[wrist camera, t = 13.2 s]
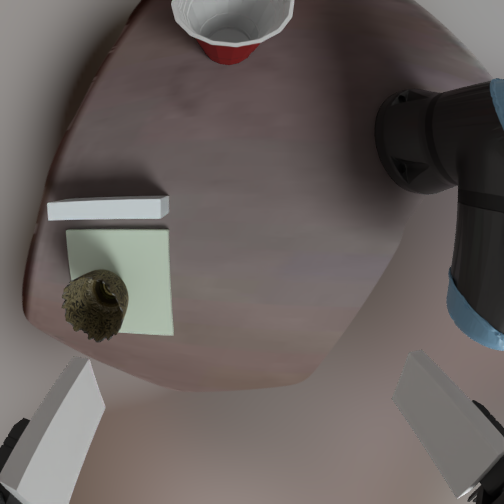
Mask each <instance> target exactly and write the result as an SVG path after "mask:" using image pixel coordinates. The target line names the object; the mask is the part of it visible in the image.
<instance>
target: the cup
mask: <svg viewBox="0 0 504 504" xmlns="http://www.w3.org/2000/svg"><path fill="white" fill-rule="evenodd" d="M69 283H70V284H69V285H67V286H66V287H65V288H64V294H63V295H62V298H63V299H64V300H65V301H64V303H63V305H62V308H64V309H66V313H65V317H66V321H67V322H68V323H69V324H71V325H72V326H73V329H74V331H76V332H78V331H79V330H83V332H84V333H87V334H88V339H89V340H91V339H93V338H94V340H95V342H101V341H103V340H104V339H105V338H107V340H110V339H111V338H112V336H113V334H115V335H117V333H118V331H119V330H120V329H121V326H122V323H123V320H124V317H125V314H126V311H127V307H128V301H129V296H128V290H127V287H126V285H125V283H124V282H123V280H122V279H121V278H120V277H119V276H118V275H117V274H115V273H113V272H111V271H109V270H104V269H99V270H93V271H90V272H88V273H86V274H84V275H82V276H80V277H78V278H76V279H74V280H72V281H70V282H69Z"/></svg>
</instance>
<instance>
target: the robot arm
mask: <svg viewBox="0 0 504 504" xmlns="http://www.w3.org/2000/svg"><path fill="white" fill-rule="evenodd" d="M375 140H376V146H377V150H378V154H379V157H380V159H381V162H382V164H383V166H384V168H385V170H386V171H387V173H388V174H389V175H390V177H391V178H392V179H393V180H394V181H395V182H396V183H397V184H398V185H399V186H401V187H402V188H404V189H405V190H407V191H410V192H413V193H419V194H426V195H429V194H436V193H439V192H442V191H444V190H447V189H450V188H453V187H455V186H458V204H457V223H456V234H455V243H454V251H453V258H452V265H451V267H450V268H449V273H448V274H449V287H448V293H447V309H448V312H449V314H450V316H451V318H452V319H453V320H454V322H455V324H456V326H457V327H458V328H459V329H460V330H461V331H462V332H463V333H465V334H466V335H467V336H468V337H470V338H471V339H473V340H474V341H476V342H478V343H480V344H481V345H484V346H486V347H488V348H492V349H495V350H502V351H503V350H504V79H498V78H496V79H492V80H491V81H488V82H484V83H479V84H475V85H471V86H467V87H463V88H459V89H455V90H451V91H447V92H443V93H437V92H431V91H425V90H419V89H408V90H404V91H401V92H398V93H396V94H393V95H392V96H390V97H389V98H388V99H387V100H386V101H385V102H384V103H383V104H382V106H381V108H380V110H379V112H378V115H377V119H376V124H375ZM392 400H393V401H394V402H395V404H396V406H397V407H398V408H399V410H400V411H401V413H402V414H403V416H404V417H405V419H406V420H407V422H408V423H409V425H410V426H411V428H412V429H413V431H414V432H415V434H416V435H417V437H418V438H419V440H420V442H421V443H422V445H423V446H424V448H425V449H426V451H427V452H428V454H429V455H430V457H431V458H432V460H433V462H434V463H435V465H436V466H437V468H438V469H439V471H440V472H441V474H442V476H443V477H444V479H445V480H446V482H447V484H448V485H449V487H450V489H451V490H452V492H453V493H454V495H455V497H456V498H457V499H458V498H459V497H461V496H463V495H464V494H466V493H468V492H469V491H471V490H472V489H473V488H474V487H475V486H476V485H477V484H478V483H479V482H480V483H481V486H480V487H479V488H478V489H477V490H476V491H474V492H473V493H472V494H471V496H470V497H469V499H468V502H470V501H471V500H472V499H473V498H474V497H475V496H476V495H477V497H476V498H475V499H474V500H473V502H476V504H504V428H503V427H502V426H501V424H500V423H499V422H498V421H496V420H495V418H494V417H493V416H492V415H490V413H489V411H488V410H487V409H486V408H485V407H484V406H483V405H481V404H480V403H478V402H476V401H474V400H473V401H471V400H470V399H469V398H468V397H467V396H466V395H465V394H464V392H463V391H462V390H461V389H459V387H458V386H457V385H456V384H455V383H454V382H453V381H452V380H451V379H450V378H449V377H448V376H447V375H446V374H445V373H444V372H443V371H442V370H441V368H440V367H438V365H437V364H436V363H435V362H434V361H433V360H432V359H431V358H430V357H429V356H428V355H427V354H426V353H425V352H424V351H423V350H418V351H413V352H409V354H408V357H407V360H406V362H405V366H404V368H403V371H402V374H401V376H400V379H399V382H398V384H397V387H396V389H395V392H394V394H393V397H392ZM104 410H105V405H104V402H103V399H102V396H101V394H100V391H99V388H98V385H97V382H96V379H95V376H94V373H93V369H92V366H91V363H90V360H89V359H88V358H82V357H75V356H74V357H73V358H72V359H71V361H70V362H69V363H68V365H67V366H66V368H65V369H64V370H63V372H62V373H61V375H60V376H59V378H58V379H57V380H56V382H55V383H54V385H53V386H52V388H51V389H50V391H49V392H48V394H47V395H46V397H45V398H44V400H43V402H42V403H41V405H40V406H39V408H38V409H37V411H36V413H35V414H34V416H33V417H32V419H31V420H28V419H25V418H23V419H22V420H20V421H19V422H18V423H17V424H15V425H14V426H13V428H12V430H11V431H10V433H9V434H8V437H7V438H6V439H5V441H4V445H2V446H1V448H0V504H69V501H70V498H71V495H72V492H73V489H74V487H75V484H76V481H77V478H78V475H79V473H80V470H81V467H82V464H83V462H84V459H85V456H86V454H87V451H88V449H89V446H90V444H91V441H92V439H93V436H94V434H95V431H96V429H97V426H98V424H99V422H100V419H101V417H102V414H103V412H104Z"/></svg>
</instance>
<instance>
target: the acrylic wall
mask: <svg viewBox="0 0 504 504" xmlns="http://www.w3.org/2000/svg"><path fill="white" fill-rule="evenodd" d="M47 206H48V220H82V219H161V218H162V217H164V216H165V215H166V214H168V213H169V196H120V197H93V198H73V199H64V200H59V201H54V202H50V203H47Z"/></svg>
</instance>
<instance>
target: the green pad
mask: <svg viewBox="0 0 504 504" xmlns="http://www.w3.org/2000/svg"><path fill="white" fill-rule="evenodd" d="M66 239H67V250H68V259H69V267H70V274H71V281H72V280H74V279H76V278H78V277H80V276H82V275H84V274H86V273H88V272H90V271H93V270H99V269H104V270H109V271H111V272H113V273H115V274H117V275H118V276H119V277H120V278H121V279H122V280H123V282H124V283H125V285H126V287H127V290H128V296H129V301H128V307H127V311H126V314H125V317H124V320H123V323H122V326H121V329H120V330H119V331H118V332H122V333H136V334H152V335H172V336H173V334H174V328H173V315H172V300H171V282H170V258H169V229H69V230H66Z"/></svg>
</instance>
